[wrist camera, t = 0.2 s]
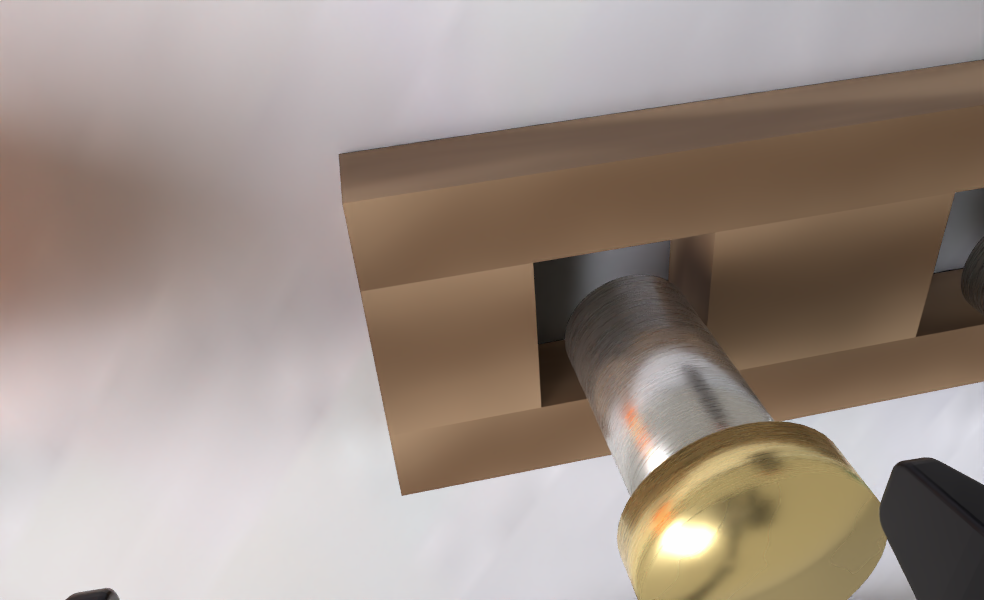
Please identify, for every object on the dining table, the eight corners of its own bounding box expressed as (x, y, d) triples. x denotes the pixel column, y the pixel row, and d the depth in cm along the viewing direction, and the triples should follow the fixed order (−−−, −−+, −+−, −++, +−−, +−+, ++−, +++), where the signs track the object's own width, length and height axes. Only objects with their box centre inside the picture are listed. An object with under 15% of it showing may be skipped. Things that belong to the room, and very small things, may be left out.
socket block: (1085, 300, 30) (1154, 347, 27) (393, 430, 27) (401, 495, 24) (1195, 28, 24) (1296, 56, 22) (338, 154, 21) (342, 203, 19)
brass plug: (706, 383, 24) (862, 621, 17) (543, 414, 23) (638, 673, 17) (720, 237, 21) (913, 453, 14) (536, 268, 20) (645, 509, 14)
